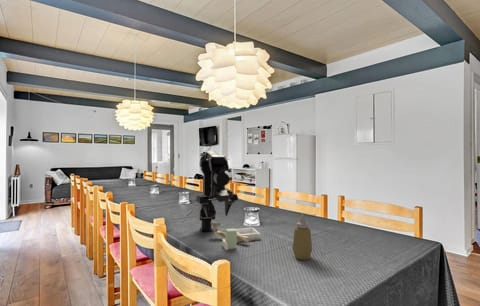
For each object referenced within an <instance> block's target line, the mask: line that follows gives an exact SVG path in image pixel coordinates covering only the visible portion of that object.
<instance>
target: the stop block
mask: <svg viewBox="0 0 480 306" xmlns="http://www.w3.org/2000/svg"><path fill="white" fill-rule="evenodd" d="M235 229H236V228H234V227H233V228H225V232H226V242H227V243H228V250H233V249H237V243H236V241H237V231H236V230H235Z"/></svg>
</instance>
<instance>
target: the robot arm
mask: <svg viewBox="0 0 480 306" xmlns="http://www.w3.org/2000/svg"><path fill="white" fill-rule="evenodd" d="M199 168H200V171H201V173H202V175H203V177H202V178H203V181H202V182H203V185H202V186H203V188H202V189H203V190H202V191H203V194H201V195H199V194H197V196H196V197H195V198H196V199H195V202H196V203H198V204H200V205H199V206H200V209H199V211H198V214H197V216H198V217H197V218H198V220H199V221H200V222H201V224H200V225H201V226H200V228H199V230H200V232H201V233H207V232H214V231H213V225H211V221H212V222H213V220H216V214H217V210H216V208H215V205H214V203H213V201H217V202H219V203H222V202H224V215H225V216H226V217H227V216H228V215H229V211H230V209H231V206H232V205H233V203H236V201H238V200H239V196H238V194H237V193H234V192H233V189H226V186H227V185H228V184H229V182H230V176H229V174H228V173H226V172H228V171H229V168H230V167H229V163H228V160H227V158H226V156H225V155H218V154H217V153H216V152H215V151H213V150H207V151H204V154H203V155H202V156H200V158H199Z"/></svg>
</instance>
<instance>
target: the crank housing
mask: <svg viewBox="0 0 480 306" xmlns="http://www.w3.org/2000/svg"><path fill="white" fill-rule="evenodd" d="M238 243H240V241H239V240H237V241H236V244H238ZM221 246H222V248H224V250H225V251H229V249H228V243H227V242H226V238H225V237H224V239H223V238H222V241H221Z"/></svg>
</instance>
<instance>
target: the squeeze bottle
mask: <svg viewBox="0 0 480 306" xmlns="http://www.w3.org/2000/svg"><path fill="white" fill-rule="evenodd" d="M293 231H294V232H293V238H292V239H293V240H292V251H293V255H294V257H295V258H296V259H298V260H303V261H307V260H309V259H310V257H311V254H312V252H313V243H312V242H313V241H312V233H311V232H312V230H311V228H309V223H308V222H307V221H306V217H305V214H304V213H301V214H300V218H299V221H298V222H297V223H296V227H295V228H294V230H293Z"/></svg>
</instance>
